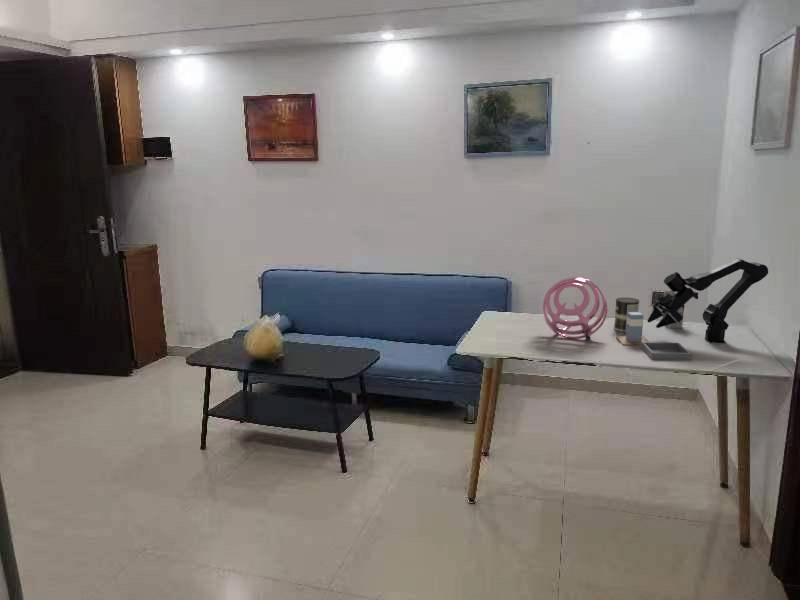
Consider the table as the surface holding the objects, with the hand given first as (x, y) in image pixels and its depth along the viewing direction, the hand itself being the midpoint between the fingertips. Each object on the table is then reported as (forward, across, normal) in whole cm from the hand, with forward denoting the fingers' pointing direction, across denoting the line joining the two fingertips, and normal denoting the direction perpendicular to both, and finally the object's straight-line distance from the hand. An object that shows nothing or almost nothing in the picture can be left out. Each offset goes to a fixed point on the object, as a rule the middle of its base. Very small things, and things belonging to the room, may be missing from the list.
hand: (652, 324), depth 252 cm
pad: (+11, 0, 0) cm, 11 cm away
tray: (+7, +18, +5) cm, 20 cm away
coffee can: (+8, -22, +3) cm, 23 cm away
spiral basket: (+28, -10, -17) cm, 34 cm away
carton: (+10, 0, -1) cm, 10 cm away
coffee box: (-8, -26, +20) cm, 34 cm away
